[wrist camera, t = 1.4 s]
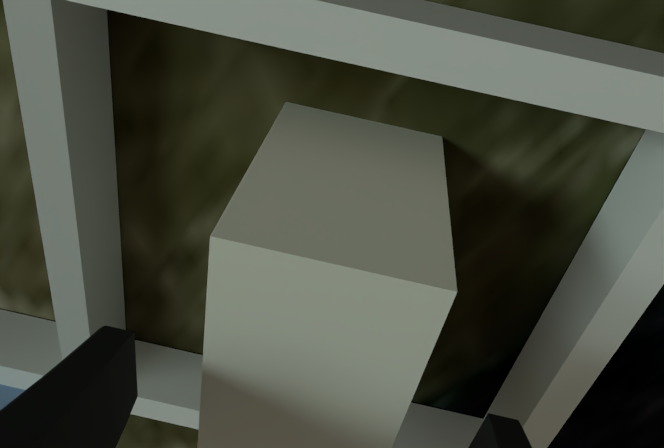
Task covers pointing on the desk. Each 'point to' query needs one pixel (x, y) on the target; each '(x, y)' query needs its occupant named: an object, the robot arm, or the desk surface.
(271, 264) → the cream rectangular block
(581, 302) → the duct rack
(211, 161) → the desk surface
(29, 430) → the robot arm
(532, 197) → the desk surface
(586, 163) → the desk surface
